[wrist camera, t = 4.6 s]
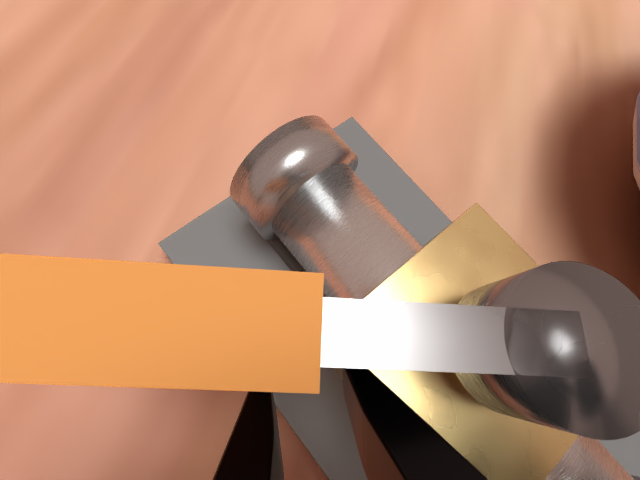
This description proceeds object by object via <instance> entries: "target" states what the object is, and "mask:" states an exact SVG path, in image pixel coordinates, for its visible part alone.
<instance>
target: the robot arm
mask: <svg viewBox="0 0 640 480" xmlns="http://www.w3.org/2000/svg"><path fill="white" fill-rule="evenodd" d="M342 370H343V390H344V396H345V400H346V404H347V408H348V412H349V416H350V420H351V424H352V428H353V431H354V435H355V439H356V443H357V447H358V451H359V455H360V458H361V462H362V465H363V468H364V471H365V474H366V477H367V480H488V479H487V478H486V477H485V476H484V475H483V474H482V473H481V472H480V471H479V470H478V469H477V468H475V467H474V466H473V465H472V464H471V463H470V462H469V461H468V460H467V459H466V458H465V457H464V456H462V455H461V454H460V453H459V452H458V451H457V450H456V449H455V448H454V447H453V446H452V445H451V444H449V443H448V442H447V441H446V440H445V439H444V438H443V437H442V436H441V435H440V434H439V433H438V432H436V431H435V430H434V429H433V428H432V427H431V426H430V425H429V424H428V423H427V422H426V421H425V420H423V419H422V418H421V417H420V416H419V415H418V414H417V413H416V412H415V411H414V410H413V409H411V408H410V407H409V406H408V405H407V404H406V403H405V402H404V401H403V400H402V399H401V398H400V397H398V396H397V395H396V394H395V393H394V392H393V391H392V390H391V389H390V388H389V387H388V386H387V385H385V384H384V383H383V382H382V381H381V380H380V379H379V378H378V377H377V376H376V375H375V374H374V373H372V372H371V371H370V370H369V369H354V368H342ZM213 480H284V472H283V464H282V456H281V448H280V440H279V432H278V423H277V415H276V408H275V402H274V396H273V392H253V391H249V392H248V394H247V396H246V399H245V401H244V404H243V406H242V409H241V411H240V414H239V416H238V419H237V421H236V423H235V426H234V428H233V431H232V433H231V436H230V438H229V441H228V443H227V446H226V448H225V450H224V453H223V455H222V458H221V460H220V463H219V465H218V468H217V470H216V473H215V475H214V478H213Z"/></svg>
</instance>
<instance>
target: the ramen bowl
mask: <svg viewBox="0 0 640 480" xmlns="http://www.w3.org/2000/svg"><path fill="white" fill-rule="evenodd" d="M633 174H634V177H635V179H636V182H637V184H638V187H639V189H640V91H639V93H638V96H637V100H636V106H635V113H634V119H633Z"/></svg>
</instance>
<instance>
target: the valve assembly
mask: <svg viewBox="0 0 640 480" xmlns="http://www.w3.org/2000/svg"><path fill="white" fill-rule="evenodd" d="M230 195H231V196H230V197H228V198H227V199H225V200H224V201H222V202H221V203H219V204H217V205H216V206H214V207H213V208H211V209H210V210H208V211H207V212H205V213H204V214H202V215H201V216H199V217H198V218H196V219H194V220H193V221H191V222H190V223H188V224H187V225H185V226H184V227H182V228H181V229H179V230H178V231H176V232H174V233H173V234H171V235H170V236H168V237H167V238H165V239H164V240H162V241H161V242H159V243H158V244H159V245H160V246H161V248H162V249H163V251H164V252H165V253H166V255H167V256H168V258H169V259H170V260H171V262H172V263H173V264H183V265H199V266H215V267H232V268H248V269H265V270H281V271H298V272H314V273H324V286H323V297H331V298H349V299H367V300H385V301H403V302H421V303H439V304H458V303H459V302H460V300H461V299H462V298H463V297H464V296H465V295H466V294H468V293H469V292H471V291H472V290H474V289H477V288H479V287H481V286H484V285H487V284H490V283H493V282H496V281H498V280H501V279H504V278H507V277H510V276H513V275H516V274H518V273H521V272H524V271H527V270H530V269H533V268H536V267H538V266H539V265H538V264H537V263H536V262H535V261H534V260H533V259H532V258H531V257H530V256H529V255H528V254H527V253H526V252H525V251H524V250H523V249H522V248H521V247H520V246H519V245H518V244H517V243H516V242H515V241H514V240H513V239H512V238H511V237H510V236H509V235H508V234H507V233H506V232H505V231H504V230H503V229H502V228H501V227H500V226H499V225H498V224H497V223H496V222H495V221H494V220H493V219H492V218H491V216H490V215H489V214H488V213H487V212H486V211H485V210H484V209H483V208H482V207H481V206H480V205H479V204H478V203H476V204H474V205H473V206H472V207H471V208H469V209H468V210H467V211H466V212H464V213H463V214H462V215H461V216H459V217H458V218H457V219H456V220H454V221H453V222H451V221H450V219H449V218H448V217H447V216H446V215H445V214H444V213H443V212H442V211H441V210H440V209H439V208H438V207H437V206H436V205H435V204H434V203H433V202H432V201H431V199H430V198H429V197H428V196H427V195H426V194H425V193H424V192H423V191H422V190H421V189H420V188H419V187H418V186H417V185H416V184H415V183H414V182H413V181H412V179H411V178H410V177H409V176H408V175H407V174H406V173H405V172H404V171H403V170H402V169H401V168H400V167H399V166H398V165H397V164H396V163H395V162H394V161H393V159H392V158H391V157H390V156H389V155H388V154H387V153H386V152H385V151H384V150H383V149H382V148H381V147H380V146H379V145H378V144H377V143H376V142H375V141H374V139H373V138H372V137H371V136H370V135H369V134H368V133H367V132H366V131H365V130H364V129H363V128H362V127H361V126H360V125H359V124H358V123H357V122H356V121H355V119H354V118H353V117H351V118H349V119H348V120H346V121H345V122H343V123H342V124H340V125H339V126H337V127H336V128H334V129H332V128H331V127H330V126H329V125H328V124H327V123H326V121H325V120H324V119H322V118H321V117H318V116H305V117H301V118H298V119H295V120H293V121H291V122H288V123H286V124H285V125H283V126H281V127H279V128H278V129H276V130H275V131H273V132H272V133H271V134H270V135H268V136H267V137H266V138H264V139H263V140H262V141H261V142H260V143H259V144H258V145H257V146H256V147H255V148H254V149H253V150H252V151H251V152H250V153H249V154H248V156H247V157H246V158H245V159H244V161H243V162H242V163H241V165H240V166H239V168H238V170H237V171H236V173H235V175H234V177H233V180H232V183H231V187H230ZM369 370H370V371H371V372H372V373H374V374H375V375H376V376H377V377H378V378H379V379H380V380H381V381H382V382H383V383H384V384H385V385H387V386H388V387H389V388H390V389H391V390H392V391H393V392H394V393H395V394H396V395H397V396H398V397H400V398H401V399H402V400H403V401H404V402H405V403H406V404H407V405H408V406H409V407H410V408H411V409H413V410H414V411H415V412H416V413H417V414H418V415H419V416H420V417H421V418H422V419H423V420H425V421H426V422H427V423H428V424H429V425H430V426H431V427H432V428H433V429H434V430H435V431H436V432H438V433H439V434H440V435H441V436H442V437H443V438H444V439H445V440H446V441H447V442H448V443H449V444H451V445H452V446H453V447H454V448H455V449H456V450H457V451H458V452H459V453H460V454H461V455H462V456H464V457H465V458H466V459H467V460H468V461H469V462H470V463H471V464H472V465H473V466H474V467H475V468H477V469H478V470H479V471H480V472H481V473H482V474H483V475H484V476H485V477H486V478H487V479H488V480H640V431H639V432H637V433H636V434H633V435H631V436H629V437H626V438H622V439H617V440H597V439H591V438H587V437H583V436H579V435H576V434H572V433H569V432H565V431H561V430H558V429H554V428H550V427H547V426H543V425H540V424H536V423H532V422H529V421H525V420H521V419H518V418H514V417H511V416H507V415H503V414H500V413H497V412H495V411H492V410H491V409H489V408H487V407H485V406H484V405H482V404H481V403H480V402H478V401H477V400H476V399H475V398H474V397H473V396H472V395H471V394H469V392H468V391H467V390H466V389H465V388H464V386H463V385H462V383H461V382H460V380H459V379H458V377H457V375H456V373H453V372H429V371H404V370H379V369H369ZM273 396H274V402H275V405H276V407H277V408H278V410H279V411H280V412H281V414H282V415H283V417H284V418H285V419H286V421H287V422H288V423H289V425H290V426H291V428H292V429H293V430H294V432H295V433H296V435H297V436H298V437H299V439H300V440H301V441H302V443H303V444H304V446H305V447H306V448H307V450H308V451H309V453H310V454H311V455H312V457H313V458H314V459H315V461H316V462H317V464H318V465H319V466H320V468H321V469H322V470H323V472H324V473H325V475H326V476H327V477H328V479H329V480H367V477H366V474H365V471H364V468H363V465H362V462H361V458H360V455H359V451H358V447H357V443H356V439H355V435H354V431H353V428H352V424H351V420H350V416H349V412H348V408H347V404H346V400H345V396H344V390H343V370H342V368H330V367H320V393H319V394H311V393H282V392H273Z"/></svg>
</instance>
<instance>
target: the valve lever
mask: <svg viewBox="0 0 640 480" xmlns="http://www.w3.org/2000/svg"><path fill="white" fill-rule="evenodd" d="M323 286H324V273H314V272H298V271H281V270H265V269H248V268H232V267H215V266H199V265H183V264H166V263H150V262H133V261H117V260H100V259H84V258H67V257H51V256H34V255H18V254H1V253H0V383H22V384H51V385H80V386H109V387H138V388H167V389H196V390H224V391H253V392H282V393H311V394H319V393H320V367H330V368H354V369H379V370H404V371H429V372H453V373H456V375H457V377H458V379H459V380H460V382H461V383H462V385H463V386H464V388H465V389H466V390H467V391H468V392H469V394H471V395H472V396H473V397H474V398H475V399H476V400H477V401H478V402H480V403H481V404H482V405H484V406H485V407H487V408H489V409H491V410H492V411H495V412H497V413H500V414H503V415H507V416H511V417H514V418H518V419H521V420H525V421H529V422H532V423H536V424H540V425H543V426H547V427H550V428H554V429H558V430H561V431H565V432H569V433H572V434H576V435H579V436H583V437H587V438H591V439H597V440H617V439H622V438H626V437H629V436H631V435H633V434H636V433H637V432H639V431H640V300H639V299H638V298H637V296H636V295H635V294H634V293H633V292H632V291H631V290H630V289H629V288H628V287H626V286H625V285H624V284H623V283H621V282H620V281H619V280H618V279H616V278H615V277H613V276H611V275H610V274H608V273H606V272H604V271H602V270H601V269H598V268H596V267H593V266H591V265H587V264H583V263H579V262H572V261H558V262H551V263H548V264H545V265H541V266H538V267H536V268H533V269H530V270H527V271H524V272H521V273H518V274H516V275H513V276H510V277H507V278H504V279H501V280H498V281H496V282H493V283H490V284H487V285H484V286H481V287H479V288H477V289H474V290H472V291H471V292H469V293H468V294H466V295H465V296H464V297H463V298H462V299H461V300H460V302H459V303H458V304H439V303H421V302H403V301H385V300H367V299H349V298H331V297H323Z"/></svg>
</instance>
